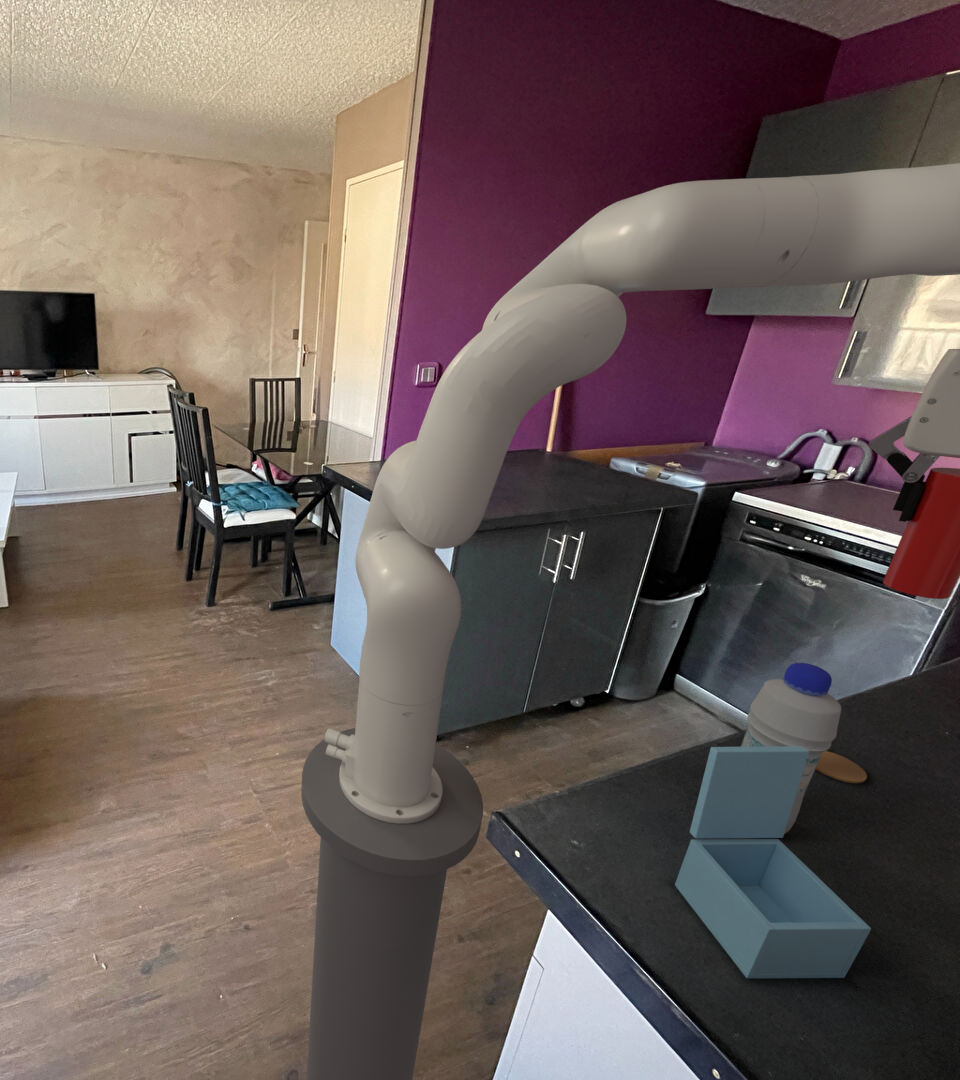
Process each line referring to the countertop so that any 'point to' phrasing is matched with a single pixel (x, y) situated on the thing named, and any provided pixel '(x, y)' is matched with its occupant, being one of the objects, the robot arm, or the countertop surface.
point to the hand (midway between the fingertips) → (944, 523)
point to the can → (930, 540)
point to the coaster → (840, 768)
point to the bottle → (795, 719)
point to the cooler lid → (748, 791)
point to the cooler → (770, 909)
